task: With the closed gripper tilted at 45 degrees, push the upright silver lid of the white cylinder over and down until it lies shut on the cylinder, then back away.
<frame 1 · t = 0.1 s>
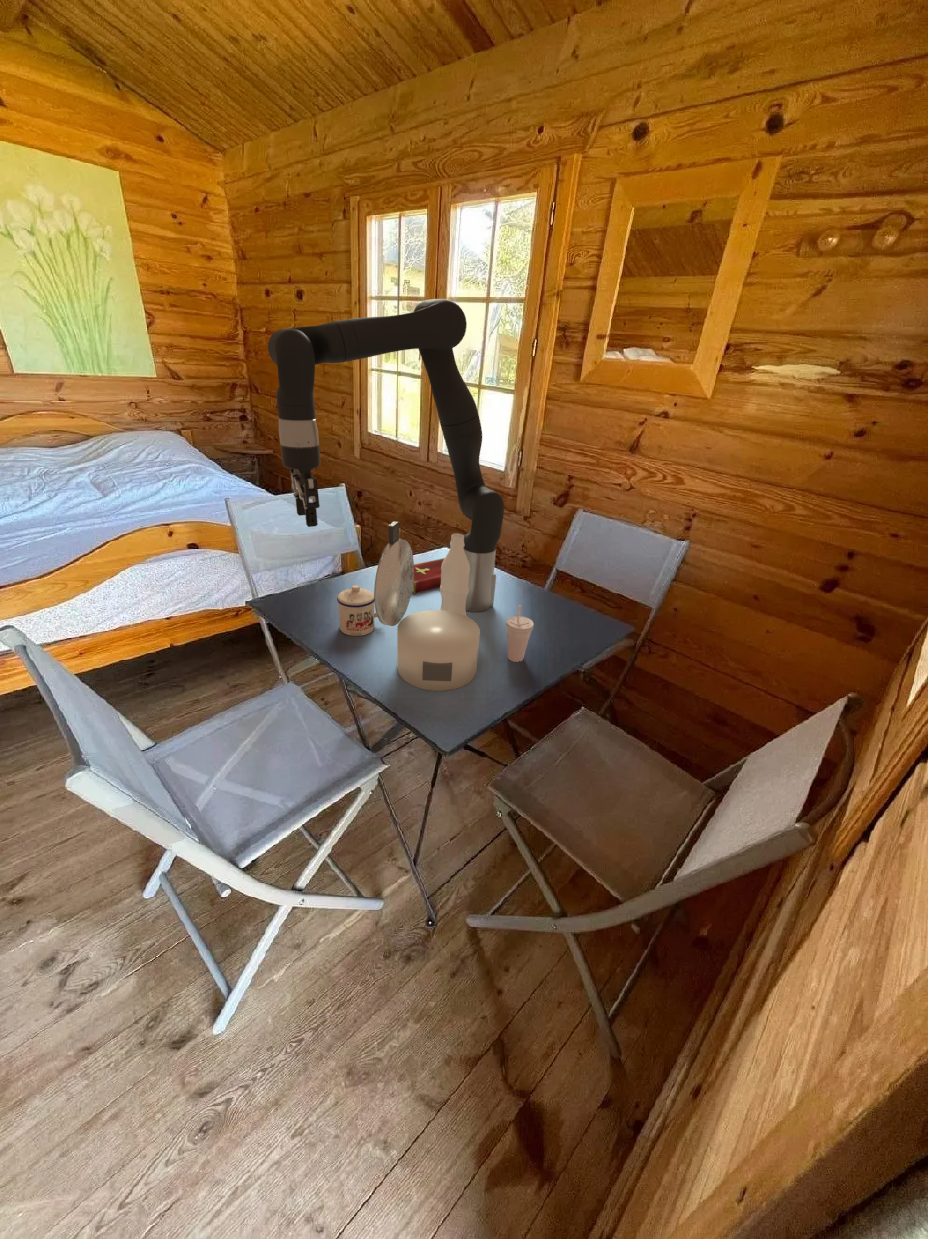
hand: (307, 520, 111), 29 cm above the table, tool pointing down, fingers open, 8 cm apart
cooker lid: (395, 574, 109), point 21 cm above the table, hinge at 92.0°
hardcover book: (433, 581, 160), on the table
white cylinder: (437, 667, 117), on the table
teacup with lid: (362, 627, 131), on the table
water bottle: (452, 627, 134), on the table
smoothie: (515, 658, 123), on the table
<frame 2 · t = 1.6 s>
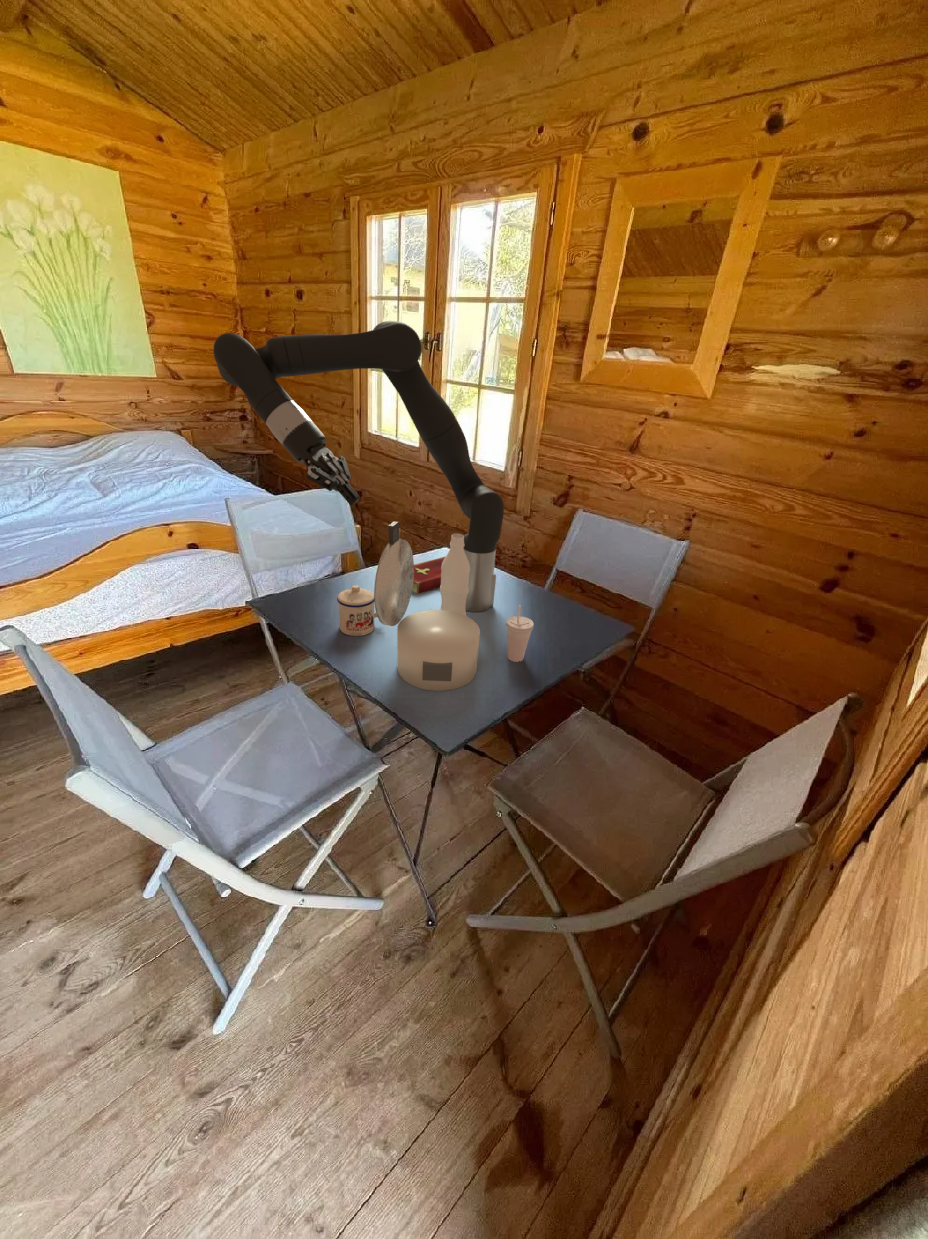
hand: (355, 501, 104), 36 cm above the table, tool tilted 45°, fingers closed
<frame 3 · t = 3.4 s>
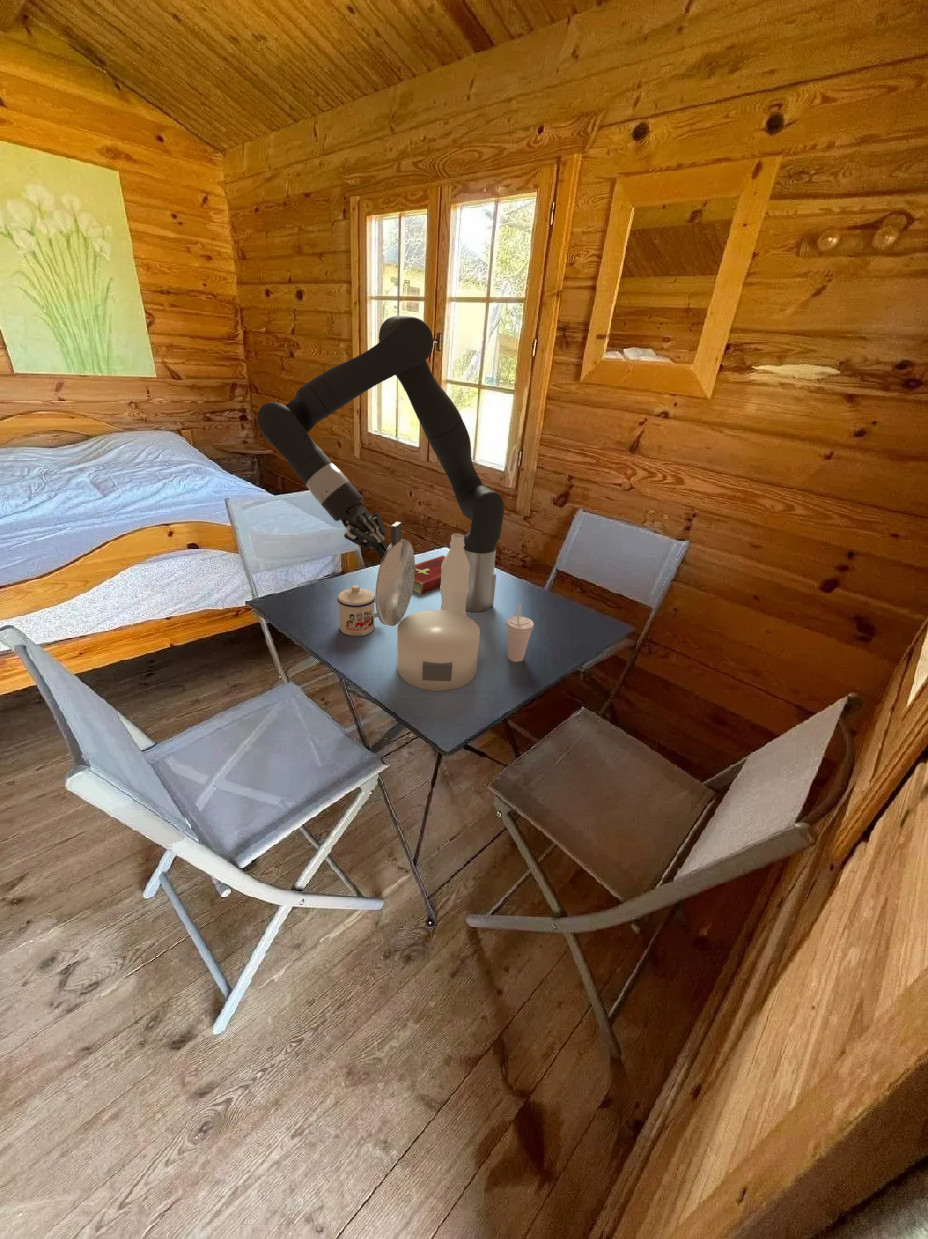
hand: (390, 558, 108), 25 cm above the table, tool tilted 45°, fingers closed
cooker lid: (396, 574, 109), point 21 cm above the table, hinge at 90.4°, touching gripper
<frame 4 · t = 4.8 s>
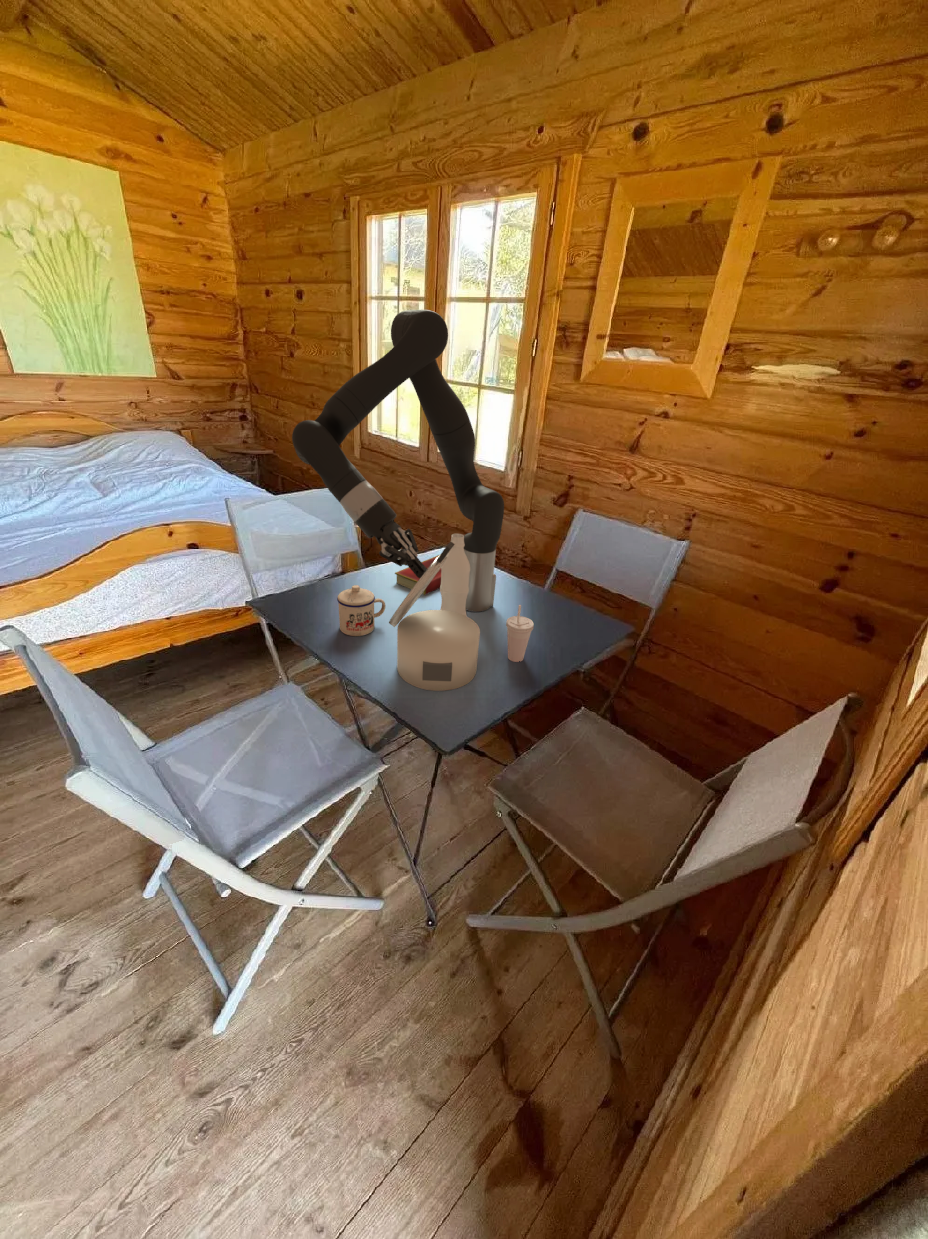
hand: (423, 574, 107), 22 cm above the table, tool tilted 45°, fingers closed
cooker lid: (422, 584, 109), point 20 cm above the table, hinge at 59.4°, touching gripper
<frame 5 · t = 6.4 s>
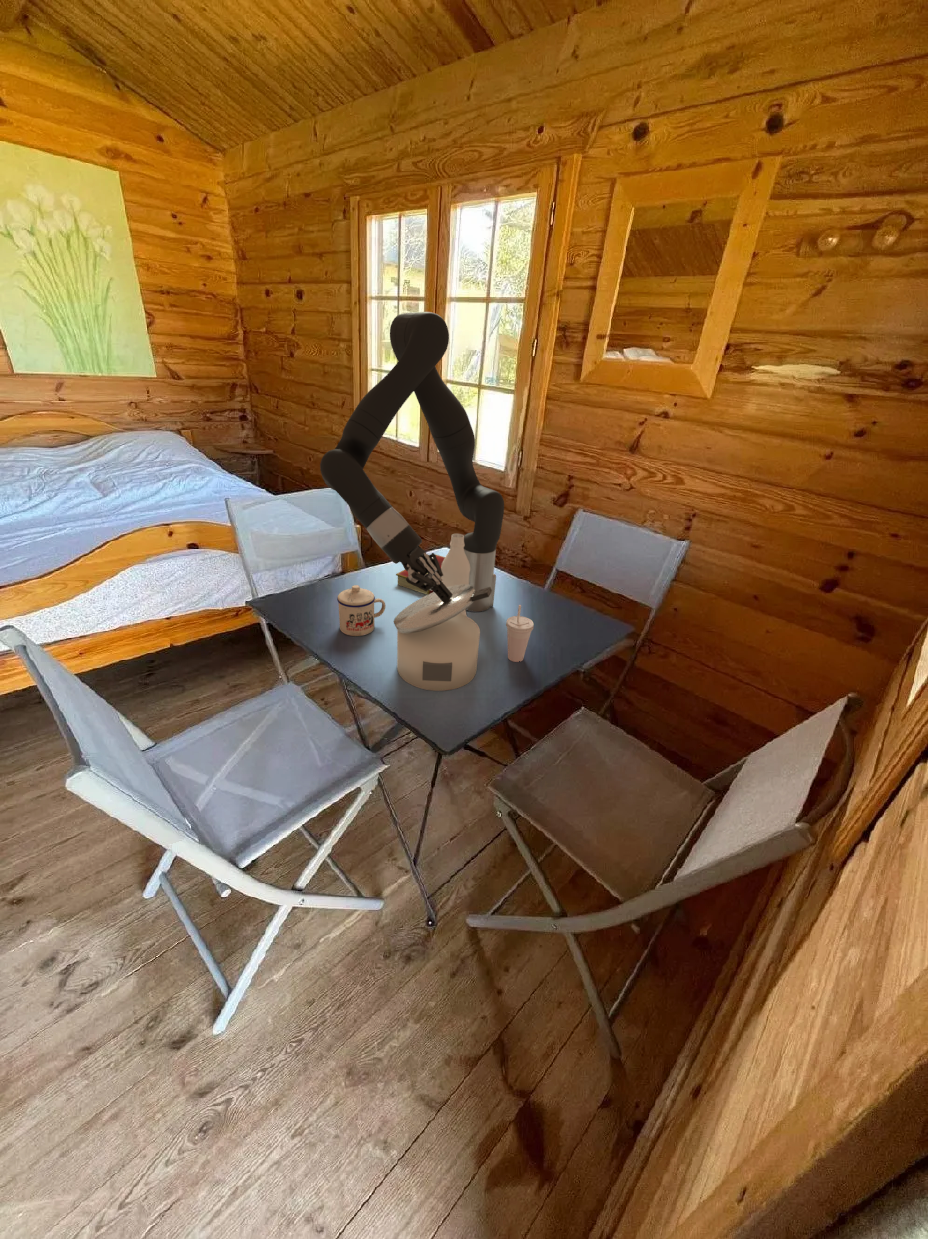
hand: (448, 599, 109), 18 cm above the table, tool tilted 45°, fingers closed
cooker lid: (442, 605, 110), point 16 cm above the table, hinge at 27.3°, touching gripper
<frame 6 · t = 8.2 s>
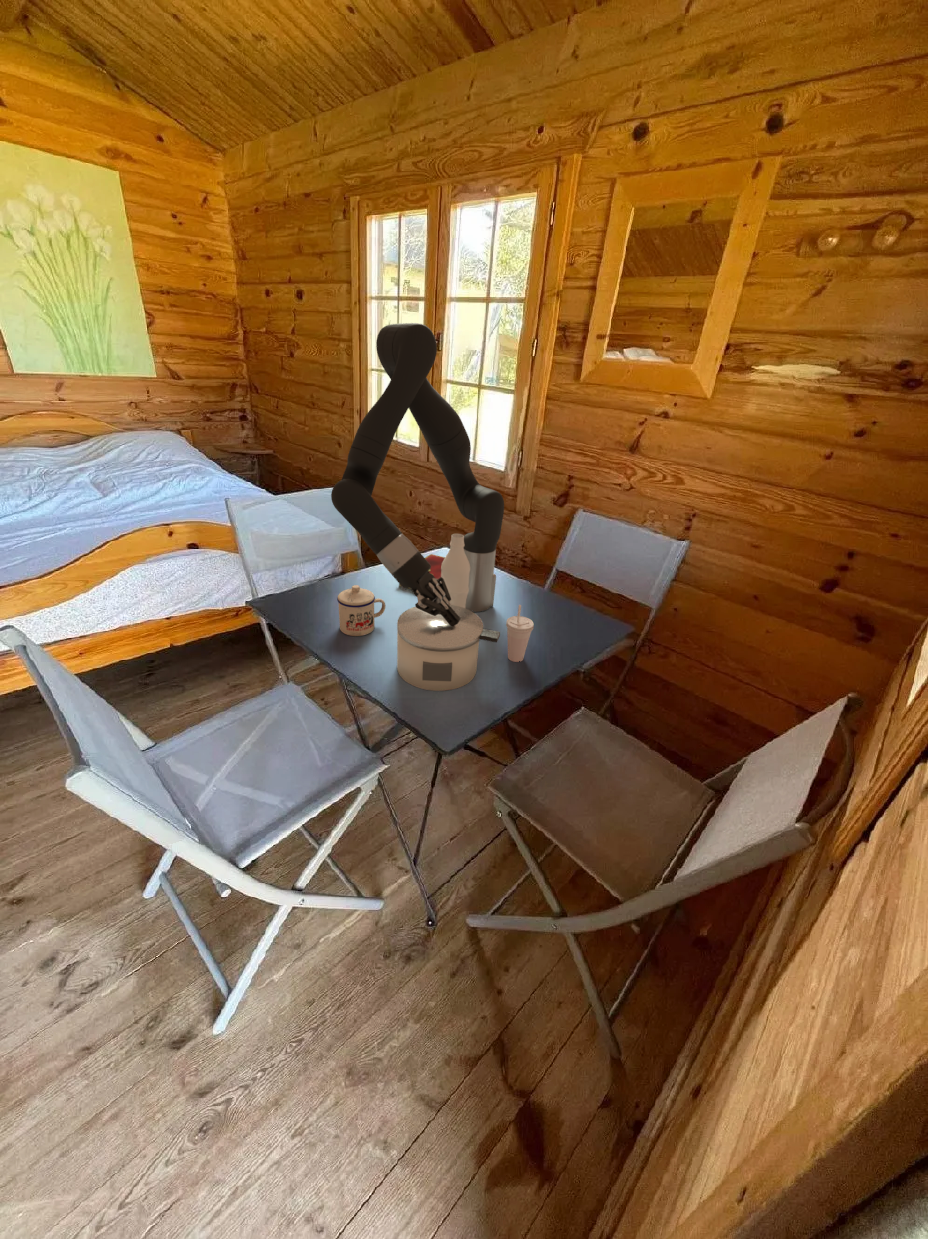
hand: (456, 623, 111), 12 cm above the table, tool tilted 45°, fingers closed
cooker lid: (448, 627, 112), point 11 cm above the table, hinge at 0.0°
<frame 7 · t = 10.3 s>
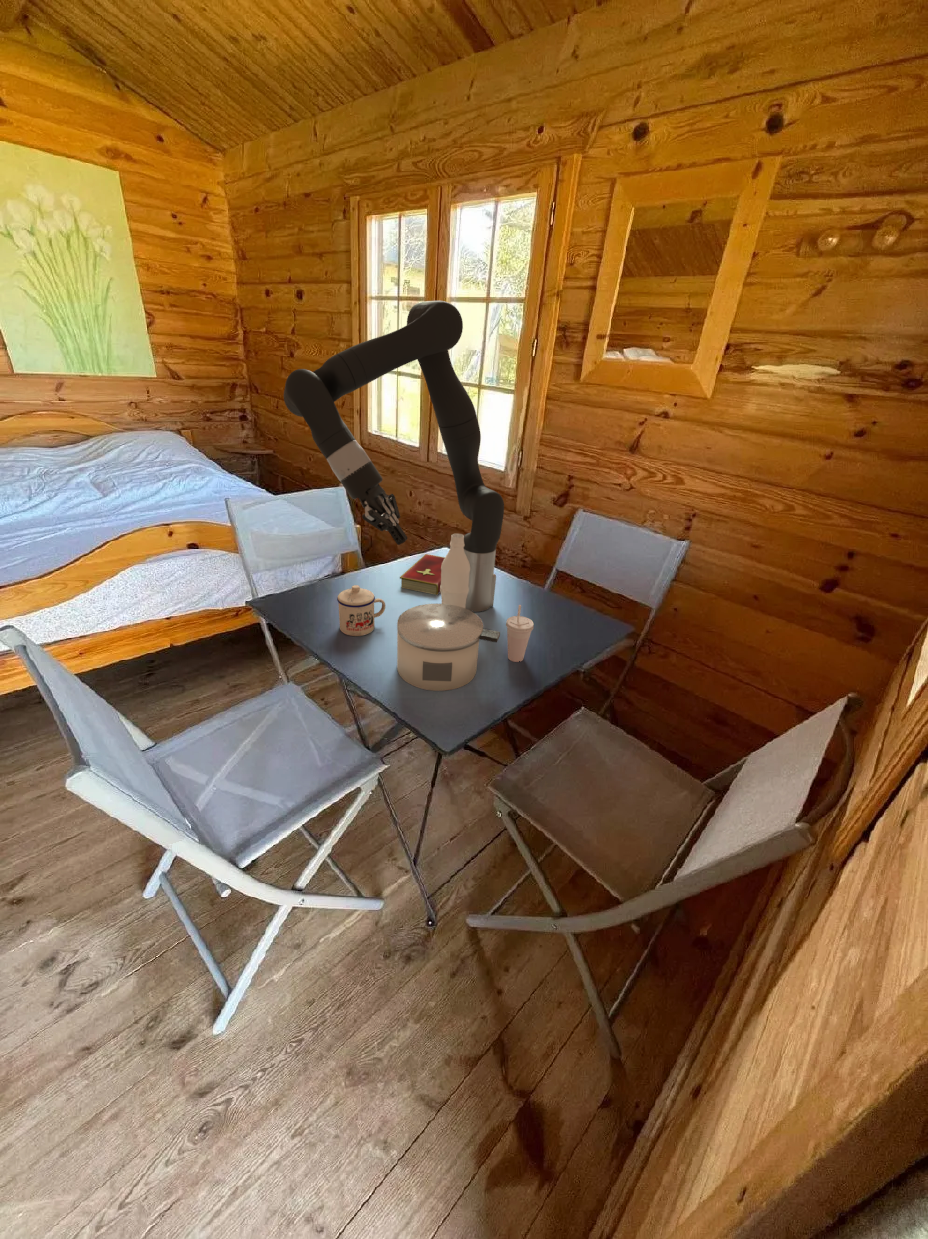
hand: (403, 542, 109), 28 cm above the table, tool tilted 35°, fingers closed
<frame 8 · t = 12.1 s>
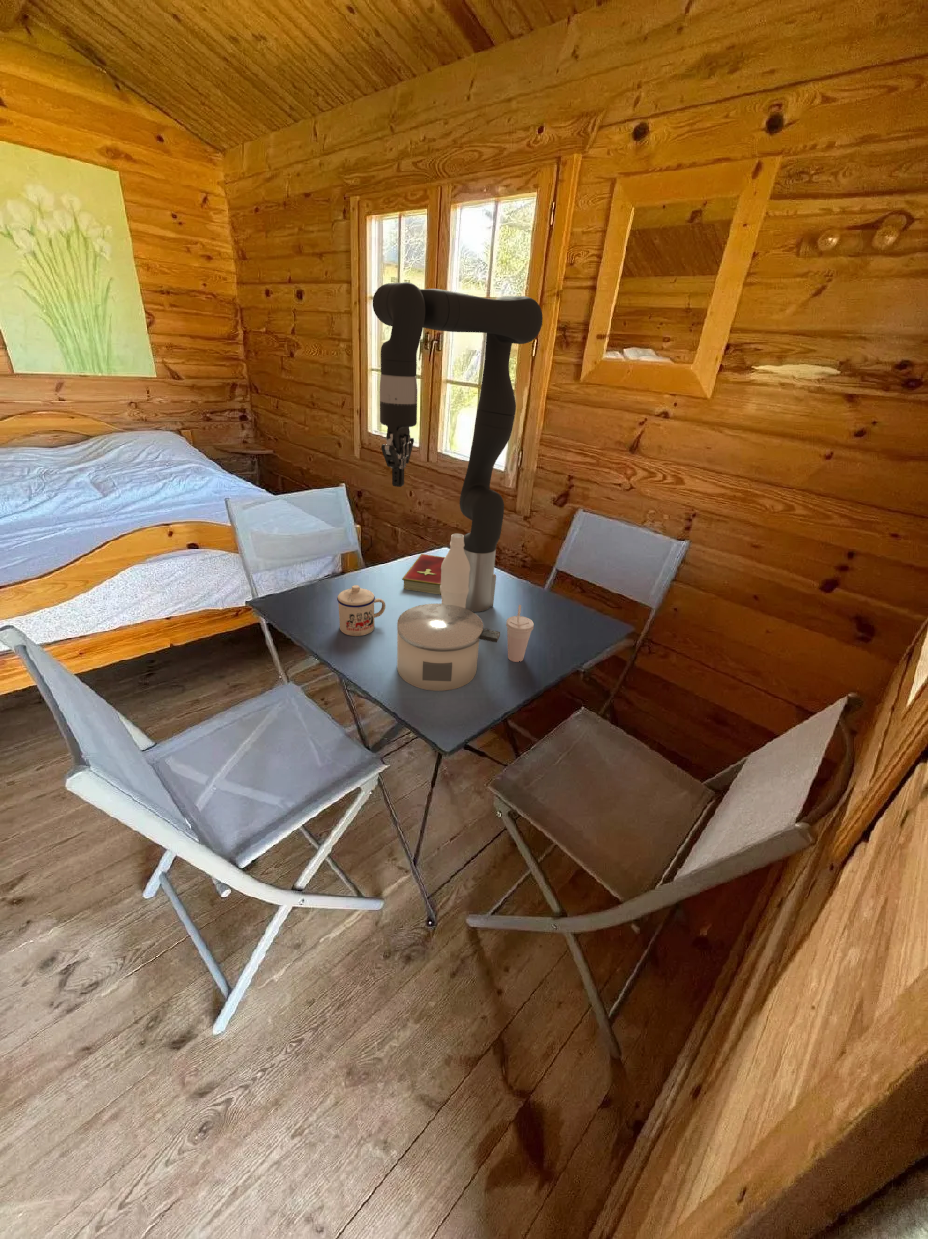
hand: (398, 485, 112), 37 cm above the table, tool pointing down, fingers closed
at the end: cooker lid at +0° (first picture: +92°) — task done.
